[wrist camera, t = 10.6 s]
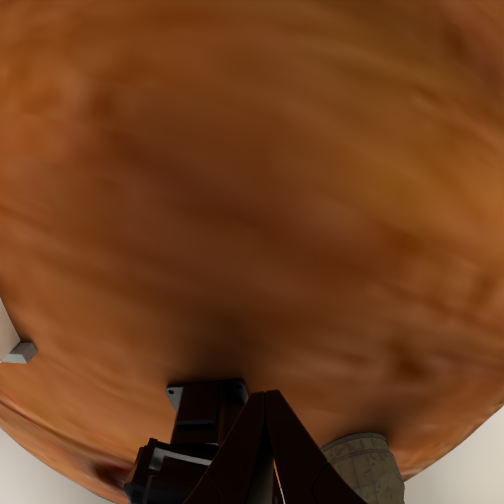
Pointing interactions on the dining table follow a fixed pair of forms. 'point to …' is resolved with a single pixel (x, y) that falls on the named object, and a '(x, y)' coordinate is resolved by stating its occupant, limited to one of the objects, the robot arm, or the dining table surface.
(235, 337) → the dining table surface
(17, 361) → the frame
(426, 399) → the dining table surface
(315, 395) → the dining table surface
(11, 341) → the carton
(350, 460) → the thermos
